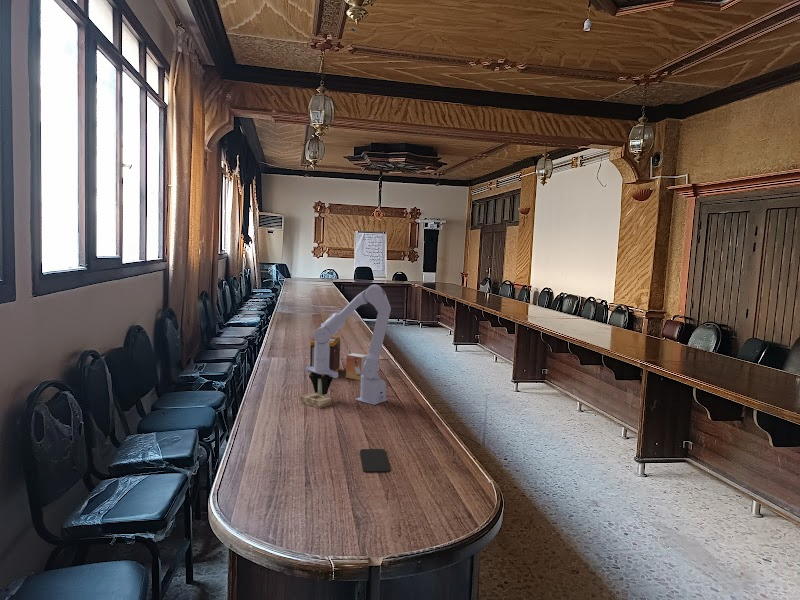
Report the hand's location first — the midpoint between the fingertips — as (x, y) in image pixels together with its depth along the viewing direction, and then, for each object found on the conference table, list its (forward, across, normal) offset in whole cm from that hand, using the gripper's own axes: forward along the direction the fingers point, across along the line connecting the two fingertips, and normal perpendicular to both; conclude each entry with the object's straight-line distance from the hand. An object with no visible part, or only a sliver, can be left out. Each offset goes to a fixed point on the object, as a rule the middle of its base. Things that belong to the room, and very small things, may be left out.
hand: (321, 393), depth 208 cm
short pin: (+2, -7, 0) cm, 7 cm away
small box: (+2, +7, -33) cm, 34 cm away
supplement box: (+2, +24, -32) cm, 40 cm away
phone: (+2, -50, +37) cm, 62 cm away
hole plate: (+2, -3, +7) cm, 8 cm away
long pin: (+2, 0, 0) cm, 2 cm away
